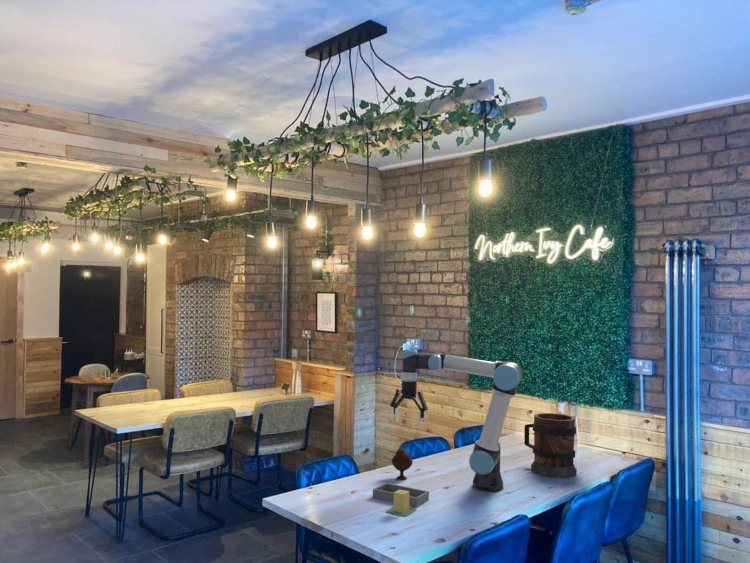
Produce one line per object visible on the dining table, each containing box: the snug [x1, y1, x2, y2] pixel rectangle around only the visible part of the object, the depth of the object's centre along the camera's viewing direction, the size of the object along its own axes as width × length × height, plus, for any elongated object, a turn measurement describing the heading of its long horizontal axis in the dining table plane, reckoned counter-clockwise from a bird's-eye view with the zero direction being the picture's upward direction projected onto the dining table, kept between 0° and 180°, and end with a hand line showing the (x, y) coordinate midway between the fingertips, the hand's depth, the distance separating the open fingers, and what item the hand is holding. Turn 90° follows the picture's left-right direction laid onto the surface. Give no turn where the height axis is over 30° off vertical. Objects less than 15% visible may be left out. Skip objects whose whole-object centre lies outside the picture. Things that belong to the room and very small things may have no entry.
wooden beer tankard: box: [523, 412, 578, 479], centre depth 341 cm, size 24×30×30 cm
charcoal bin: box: [372, 482, 430, 509], centre depth 285 cm, size 23×12×4 cm, turn 59°
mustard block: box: [393, 489, 410, 513], centre depth 269 cm, size 5×5×8 cm
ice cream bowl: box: [391, 448, 414, 481], centre depth 320 cm, size 11×11×15 cm
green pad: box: [385, 506, 418, 518], centre depth 269 cm, size 10×10×1 cm
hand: (408, 422), depth 310 cm, fingers open, 13 cm apart
